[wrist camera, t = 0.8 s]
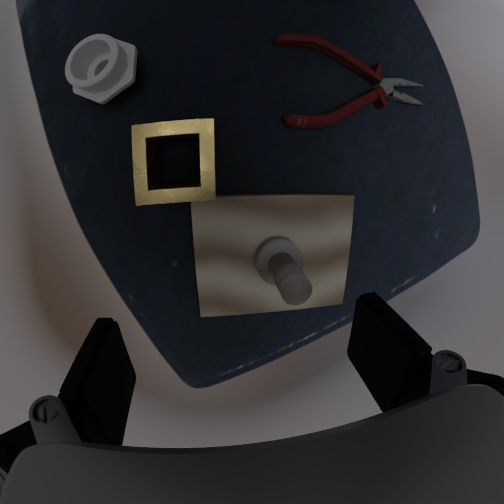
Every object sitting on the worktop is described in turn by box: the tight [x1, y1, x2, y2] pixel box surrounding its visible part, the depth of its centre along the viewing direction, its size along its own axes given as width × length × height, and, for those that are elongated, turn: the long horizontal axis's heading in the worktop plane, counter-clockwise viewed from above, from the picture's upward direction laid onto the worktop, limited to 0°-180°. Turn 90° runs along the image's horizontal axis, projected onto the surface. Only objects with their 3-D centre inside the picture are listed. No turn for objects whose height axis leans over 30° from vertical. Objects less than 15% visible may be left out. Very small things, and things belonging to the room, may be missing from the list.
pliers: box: [274, 34, 425, 129], centre depth 26 cm, size 12×20×3 cm, turn 95°
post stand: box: [191, 193, 354, 317], centre depth 28 cm, size 14×18×9 cm
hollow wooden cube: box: [132, 118, 216, 206], centre depth 24 cm, size 7×7×6 cm
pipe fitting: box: [65, 34, 138, 104], centre depth 19 cm, size 6×7×8 cm
